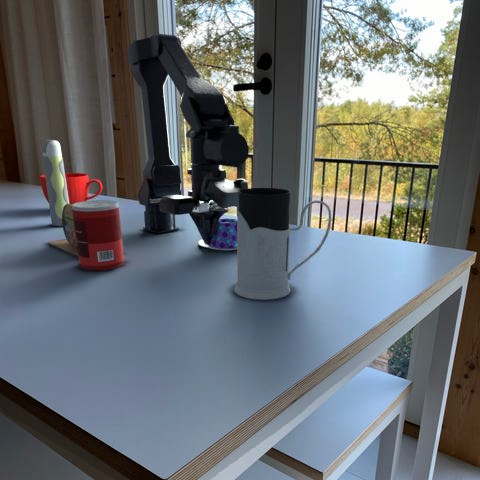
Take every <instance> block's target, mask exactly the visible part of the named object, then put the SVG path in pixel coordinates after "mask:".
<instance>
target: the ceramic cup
mask: <svg viewBox="0 0 480 480" xmlns="http://www.w3.org/2000/svg"><path fill="white" fill-rule="evenodd" d="M65 178H66V184H67V191H68V198H69V204H75V203H78V202H84V201H90V200H92V199H95V198H97V197H99V195H101V193H102V191H103V184H102V182H101V180H99V179H96V178H95V179H91V180H89V174H87V173H83V172H65ZM39 181H40V182H39V183H40V187H41V191H42V193H43V197H44V198H45V200H46V202H47V203H48V204H49V200H48V192H47V185H46V178H45V174H41V175H39ZM93 183H97V184H98V185H99V188H98V191H97V192H96V193H95V194H93V195H91V196H89V189H90V185H92V184H93Z"/></svg>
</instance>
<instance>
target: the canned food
mask: <svg viewBox="0 0 480 480" xmlns="http://www.w3.org/2000/svg"><path fill="white" fill-rule="evenodd" d="M72 212H73V221H74V228H75V235H76V242H77V249H78V256H79V257H78V256H77V257H78V262H79V264H80V267H81V268H82V269H84V270H87V271H108V270H114V269H116V268H119V267H120V266H122V265H124V260H125V257H124V245H123V236H122V235H123V234H122V225H121V224H122V223H121V216H120V215H121V214H120V207H119V202H118V201H116V200H115V201H114V200H108V199H107V200H105V199H104V200H103V199H99V200H98V199H97V200H87V201H84V202H78V203H75V204H73V205H72Z"/></svg>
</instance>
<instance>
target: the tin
mask: <svg viewBox="0 0 480 480" xmlns="http://www.w3.org/2000/svg"><path fill="white" fill-rule="evenodd" d="M72 205H73V204H66V205H65V206H64V208H63V211H62V225H63V226H62V230H63V231H62V232H63V234H64V236H65V239H67V241H68V242H69V243H70V244H71V245H73V246H76V247H77V242H76V235H75V228H74V221H73V212H72Z"/></svg>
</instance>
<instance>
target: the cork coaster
mask: <svg viewBox="0 0 480 480" xmlns="http://www.w3.org/2000/svg"><path fill="white" fill-rule="evenodd" d="M47 244H48V245H51V246H53V247H54V248H58V249H60V250H62V251H64V252H67V253H69V254H71V255H74V256H76V257H78V258H79V256H78V249H77V247H76V246H73V245H71V244H70V243H69V242H68V241H67V239H66V238H65V239H59V240H54V241H48V242H47Z"/></svg>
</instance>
